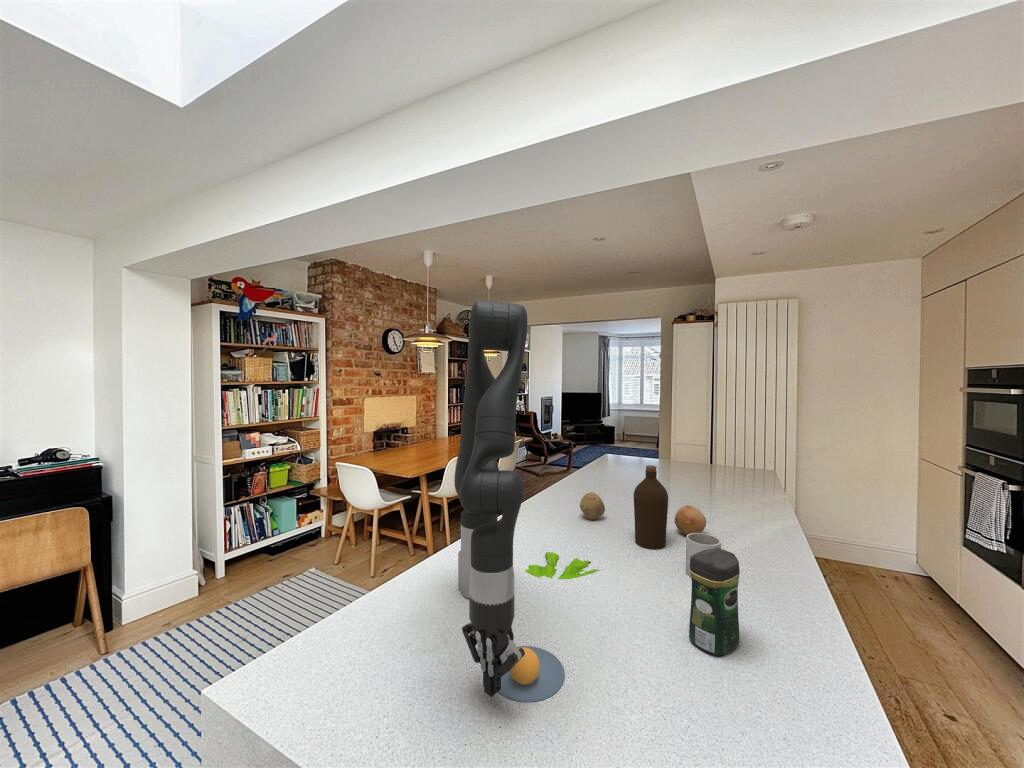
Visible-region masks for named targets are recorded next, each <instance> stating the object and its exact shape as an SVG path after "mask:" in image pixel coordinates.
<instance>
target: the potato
mask: <svg viewBox="0 0 1024 768" xmlns="http://www.w3.org/2000/svg"><path fill="white" fill-rule="evenodd" d="M579 508H580V510H581V512H582V513H583V515H584V516H585V517H586V518H587V519H589V520H591V521H592V520H594V521H595V520H596V519H597V518H599V517H601V516H603V515H604V514H605V512H606V507H605V504H604V501H603V500H602V498H601V497H600V496H599V495H598V494H597V493H595V492H587V493H585V494H584V495H583V496H582V498H581V500H580V503H579Z"/></svg>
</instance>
